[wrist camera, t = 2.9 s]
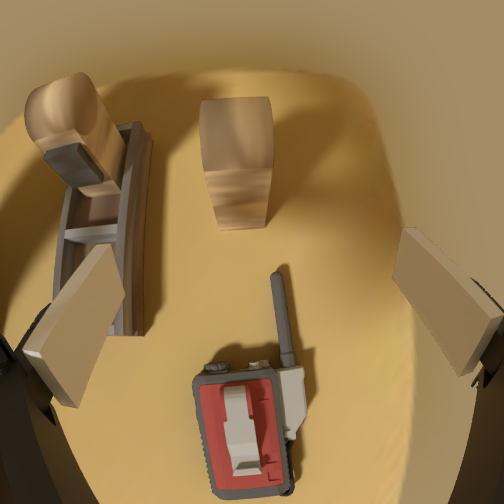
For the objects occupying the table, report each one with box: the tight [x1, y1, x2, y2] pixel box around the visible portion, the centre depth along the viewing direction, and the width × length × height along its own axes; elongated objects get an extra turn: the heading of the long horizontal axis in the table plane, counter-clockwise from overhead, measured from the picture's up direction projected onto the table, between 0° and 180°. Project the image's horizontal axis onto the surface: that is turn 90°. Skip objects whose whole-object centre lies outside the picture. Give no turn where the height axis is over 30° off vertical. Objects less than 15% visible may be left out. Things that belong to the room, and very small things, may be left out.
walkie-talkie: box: [192, 272, 307, 500], centre depth 21 cm, size 9×4×20 cm
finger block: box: [199, 97, 274, 231], centre depth 21 cm, size 4×6×12 cm
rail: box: [24, 72, 153, 336], centre depth 20 cm, size 8×20×14 cm, turn 4°
